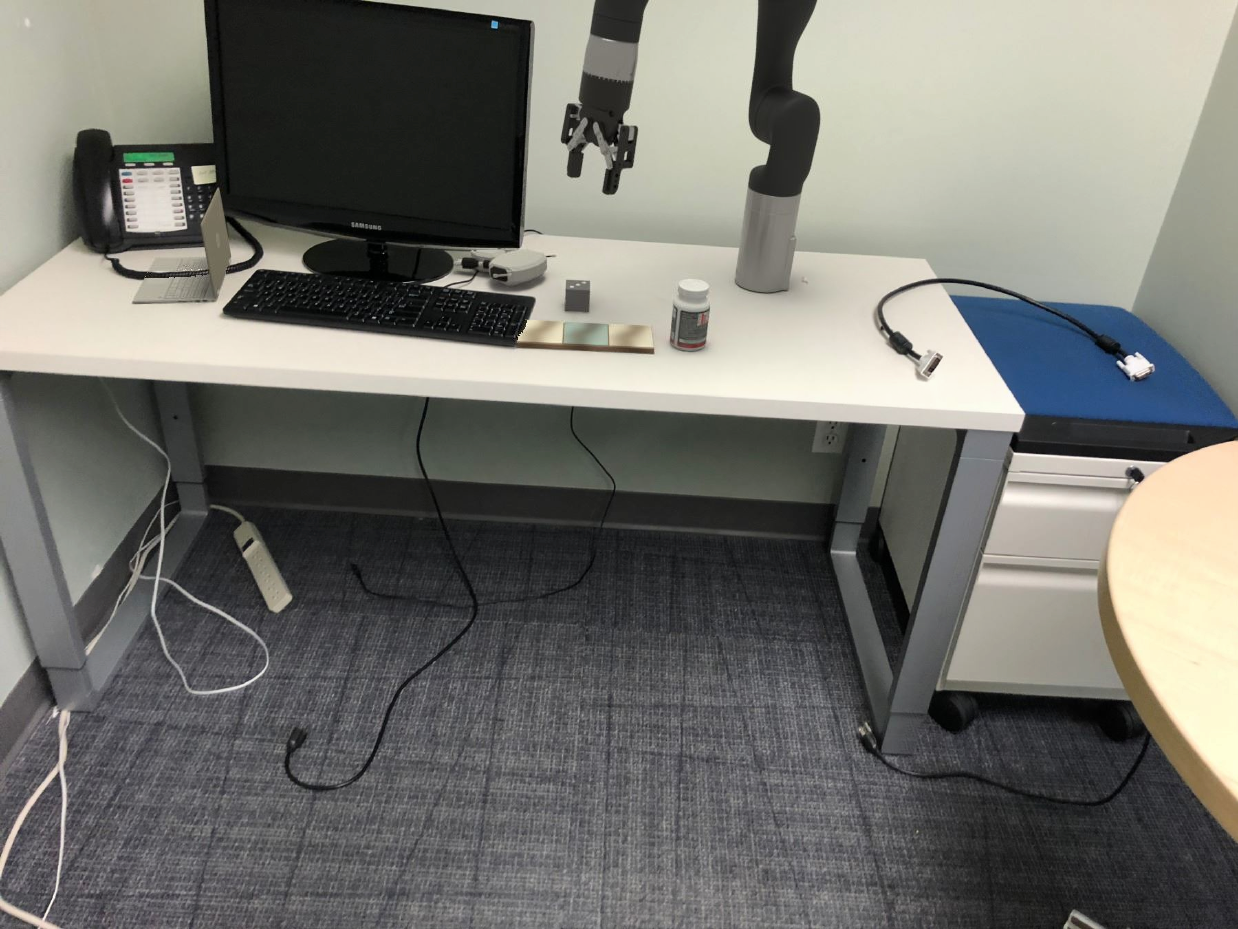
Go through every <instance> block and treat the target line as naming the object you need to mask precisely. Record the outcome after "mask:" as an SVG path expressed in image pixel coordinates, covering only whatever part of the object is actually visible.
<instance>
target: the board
mask: <svg viewBox="0 0 1238 929" xmlns="http://www.w3.org/2000/svg"><path fill="white" fill-rule="evenodd" d="M526 320H527V323H526V327H525V329H524V330H523V333H522V332H521V334H519V335H520V336H518V335H517V337H518V340H517V339H516V349H517V348H519V349H540V350H562V351H563V350H564V351H587V352H604V353H605V352H606V353H630V354H649V355H650V354H651V355H652V354H653V355H654V354H655V343H654V342H655V341H654V335H653V334H654V333H653V327H652V325H641V324H624V323H622V324H620V323H617V324H616V323H603V322H602V323H601V322H596V323H595V322H576V321H575V322H574V321H557V320H555V321H553V320H536V319H535V320H533V319H526Z"/></svg>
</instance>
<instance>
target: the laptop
mask: <svg viewBox="0 0 1238 929" xmlns="http://www.w3.org/2000/svg"><path fill="white" fill-rule="evenodd" d="M222 201H223V200H222V197H221V191H220V187H217V188H216V191H215V192H214V195H213V197H212V199H211V201H210V202H209V205H208V208H207V210H206V212H205V213H204V216H203V219H202V220H201V222H200V223H199V224H200V226H199V227H200V231H201V236H202V241H203V247H204V252H205V256H203V257H200V256H199V257H198V256H194V257H193V256H192V257H156V258H154V260H153V261H152V264H151V266H150V267H149V269H148V271H183V270H185V269H186V270H187V271H188V270H189V271H190V270H191V269H192V270H193V271H196V270H198V269H200V270H201V269H202V270H203V269H209V274H207V275H203V276H202V275H196V277H195V276H191V277H175V278H174V277H169V278H145V277H144V279H143V280H142V283H140V286H139V288H138V290H137V292H136V293H135V295H134V298H133V299H132V301H131V302H132V303H140V304H141V303H142V304H143V303H146V304H148V303H151V304H152V303H154V304H159V303H161V304H163V303H164V304H167V303H168V304H175V303H176V304H192V303H193V304H194V303H202V304H203V303H216V302H217V301H218V297H219V295H220V292H221V291H222V287H223V284H224V282H225V280H226V276H227V274H226V270H227V267H228V265H229V266H230V263H231V261H232V254H231V247H230V246H231V245H230V241H229V235H228V230H227V229H228V228H227V225H226V223H227V222H226V219H225V212H224V208H223V207H224V206H223V202H222ZM178 269H179V270H178ZM186 270H185V271H186Z"/></svg>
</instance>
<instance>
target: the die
mask: <svg viewBox="0 0 1238 929" xmlns="http://www.w3.org/2000/svg"><path fill="white" fill-rule="evenodd" d="M564 290H565V293H564V295H565V296H564V297H565V298H564V312H571V313H590V302H591V301H590V298H591V297H590V296H591V281H590V280H584V279H583V280H582V279H565V289H564Z"/></svg>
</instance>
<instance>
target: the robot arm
mask: <svg viewBox="0 0 1238 929" xmlns="http://www.w3.org/2000/svg"><path fill="white" fill-rule="evenodd" d="M817 2H818V0H757V21H756V38H755V53H754V55H755V56H754V64H753V65H754V67H753V74H752V82H751V87H750V94H749V101H748V102H749V103H748V113H747V114H748V124H749V129H750V131H751V134H752V135H753V136H754V137H755V138H756V139H757V140H758V141H759V142H761V143H764V144H766V145H768V146H769V150H768V155H767V159H766V163H765V164H760V165H757V166H755V167H753V168H752V169H751V170H750V172H749V176H748V183H747V190H746V197H745V205H744V211H743V218H742V226H741V232H740V240H739V247H738V254H737V262H736V267H735V274H734V275H735V276H734V282H735V283H736V284H737V285H738V286H740V287H741V288H744V289H745V290H749V291H752V292H757V293H776V292H780V291H789V285H790V279H791V275H792V268H793V263H794V257H795V252H796V247H797V237H796V235H795V232H796V227H797V222H798V215H799V211H800V210H799V209H800V204H801V197H802V192H803V187H804V184H805V182H806V180H807V178H808V177H809V174H810V172H811V169H812V166H813V165H812V164H813V160H814V156H815V152H816V146H817V143H818V139H819V133H820V128H821V110H820V107H819V104H818V102H817V101H816V100H815V98H813V97H811V96H809V95H808V94H805V93H803V92H800V91H797V90H795V89H793V88H794V87H793V71H794V61H795V60H794V59H795V54H796V50H797V46H798V44H799V41H800V39H801V37H802V36H803V33H804V32H805V30H806V28H807V25H808V24H809V22H810V20H811V18H812V16H813V13H814V12H815V9H816V6H817ZM648 3H649V0H594V4H593V8H592V17H591V24H590V30H589V36H588V39H587V43H586V46H585V47H586V48H585V52H584V58H583V65H582V70H581V71H582V72H581V78H580V80H581V81H580V85H579V92H578V102H579V103H577V102H574V103H570V102H569V103H566V107H565V114H564V119H563V123H562V129H561V135H560V142H561V144H565V145H566V149H567V150H568V158H567V165H566V172H567V173H566V176H567V177H569V178H570V179H573V178H580V177H581V176H582V168H583V162H584V155H585V153H584V152H583V151H585V149H586V148H587V146H588V145H589V144H593V145H594V146H595V147H598V148H599V152H600V153H601V155H603V157H604V161H605V163H606V164H605V165H606V168H605V171H604V172H605V173H604V178H603V183H602V190H601V192H602V194H603V195H606V196H612V195H615V194H616V193H617V191H618V190H619V186H620V185H619V184H620V179H621V173H622V171H623V170H628V169H632V168H633V167H634V163H635V157H636V156H635V155H636V149H637V143H638V142H637V141H638V135H639V127H638V126H637V125H632V124H631V125H629V124H624V123H625V122H624V115H625V114H626V112H627V111H629V110H630V106H631V102H632V94H633V89H634V84H635V77H636V72H637V68H638V67H637V66H638V58H639V46H640V45H639V42H640V39H641V33H642V26H643V22H644V20H643V19H644V16H645V15H644V14H645V10H646V7H647V5H648ZM571 129H572V130H571ZM570 131H571V135H570ZM612 145H613V146H612ZM625 155H626V156H625ZM625 157H626V158H625Z"/></svg>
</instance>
